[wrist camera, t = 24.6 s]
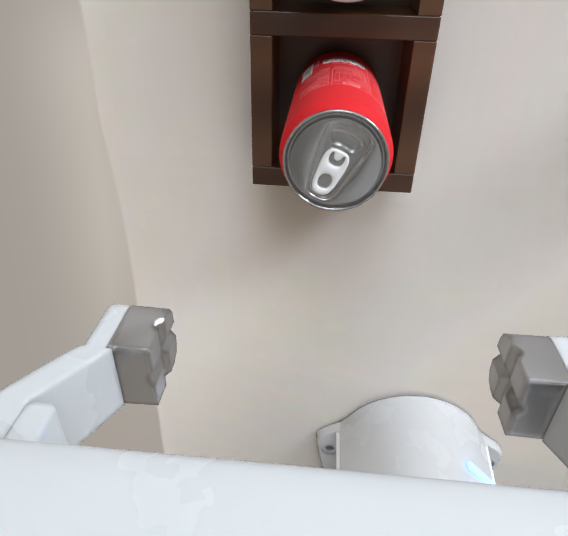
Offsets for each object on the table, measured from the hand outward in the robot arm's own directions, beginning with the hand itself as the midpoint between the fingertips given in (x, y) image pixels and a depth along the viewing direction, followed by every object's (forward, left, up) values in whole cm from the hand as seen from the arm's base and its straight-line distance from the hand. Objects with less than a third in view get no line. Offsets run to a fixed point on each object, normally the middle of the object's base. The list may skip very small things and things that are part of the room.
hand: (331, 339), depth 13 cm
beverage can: (0, 0, -24) cm, 24 cm away
